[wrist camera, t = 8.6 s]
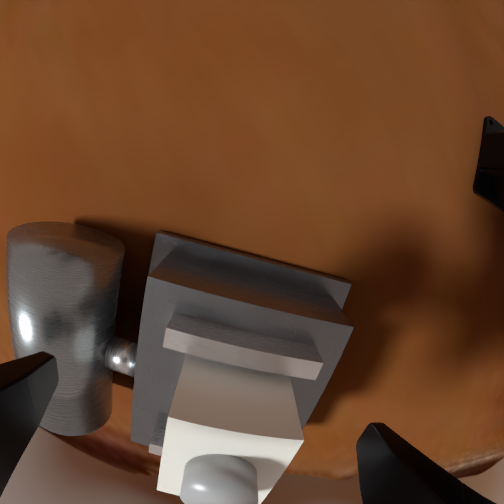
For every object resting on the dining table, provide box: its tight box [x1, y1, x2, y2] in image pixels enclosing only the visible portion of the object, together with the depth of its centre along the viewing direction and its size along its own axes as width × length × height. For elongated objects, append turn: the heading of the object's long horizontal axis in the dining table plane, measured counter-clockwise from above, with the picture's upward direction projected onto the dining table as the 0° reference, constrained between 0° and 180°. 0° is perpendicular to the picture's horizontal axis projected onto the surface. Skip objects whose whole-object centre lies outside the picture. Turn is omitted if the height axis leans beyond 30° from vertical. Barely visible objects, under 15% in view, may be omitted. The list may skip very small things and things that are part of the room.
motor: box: [6, 222, 354, 456], centre depth 16 cm, size 20×14×7 cm
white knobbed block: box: [157, 354, 304, 504], centre depth 12 cm, size 5×6×6 cm
